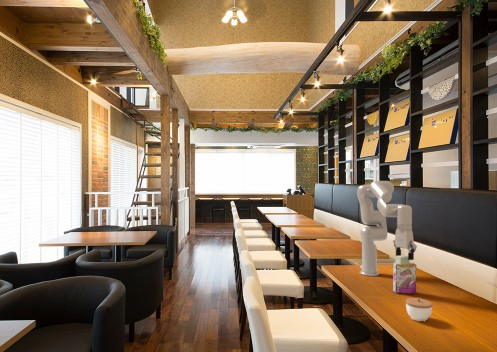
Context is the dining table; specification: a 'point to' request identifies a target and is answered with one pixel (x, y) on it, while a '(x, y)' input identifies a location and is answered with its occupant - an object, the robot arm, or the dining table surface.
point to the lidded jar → (418, 308)
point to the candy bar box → (404, 278)
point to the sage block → (401, 259)
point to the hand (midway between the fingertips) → (404, 257)
